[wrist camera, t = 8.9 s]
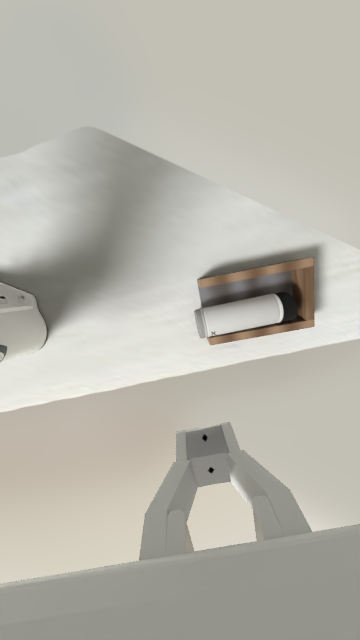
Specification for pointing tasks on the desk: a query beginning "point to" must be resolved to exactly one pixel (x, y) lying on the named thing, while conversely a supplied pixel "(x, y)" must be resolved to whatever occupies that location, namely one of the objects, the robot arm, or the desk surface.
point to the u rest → (261, 282)
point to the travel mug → (245, 314)
